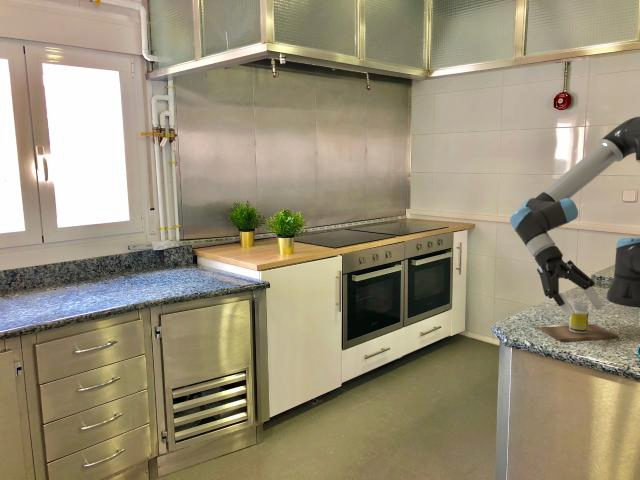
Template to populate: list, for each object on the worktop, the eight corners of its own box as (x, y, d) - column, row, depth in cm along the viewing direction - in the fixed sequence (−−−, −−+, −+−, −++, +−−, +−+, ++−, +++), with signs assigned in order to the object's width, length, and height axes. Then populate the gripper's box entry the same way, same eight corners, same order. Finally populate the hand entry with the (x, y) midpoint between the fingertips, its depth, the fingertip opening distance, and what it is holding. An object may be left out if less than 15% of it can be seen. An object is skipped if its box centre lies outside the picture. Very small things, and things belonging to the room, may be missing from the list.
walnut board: (590, 324, 160) (590, 321, 160) (617, 338, 148) (618, 335, 148) (536, 327, 157) (536, 324, 157) (560, 341, 145) (560, 338, 145)
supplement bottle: (589, 334, 149) (591, 306, 147) (571, 333, 150) (573, 305, 148) (584, 329, 153) (586, 301, 152) (567, 328, 154) (569, 300, 153)
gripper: (563, 254, 168) (603, 311, 157) (509, 262, 156) (548, 324, 146) (579, 241, 162) (621, 298, 152) (524, 248, 151) (567, 311, 140)
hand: (586, 311), depth 149 cm, fingers open, 13 cm apart
